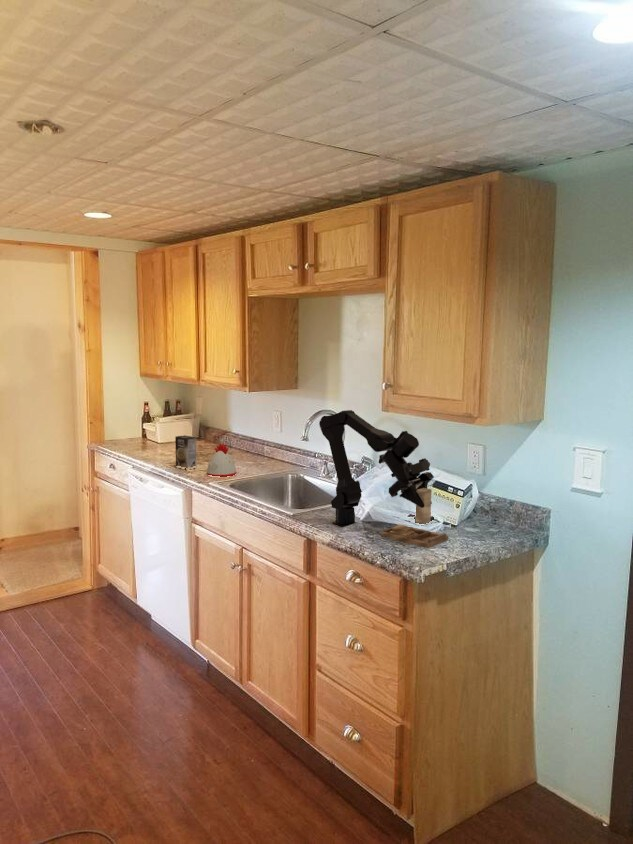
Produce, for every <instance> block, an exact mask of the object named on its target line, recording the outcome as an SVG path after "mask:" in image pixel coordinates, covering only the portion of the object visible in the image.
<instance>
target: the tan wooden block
mask: <svg viewBox="0 0 633 844" xmlns="http://www.w3.org/2000/svg"><path fill="white" fill-rule="evenodd" d="M416 492H417V493H418V495H419V497H420V498H421V500H422V502H423V503H424V505H425V506H424V507H423V508H421V507H419V506H418V505H416V504H415V507H416V518H415V523H419V524H426V523H429V522H430V516H431V511H432V510H431V509H432V504H431V502H432V488H428V487H427V488H421V489H418V490H416ZM426 525H427V524H426Z"/></svg>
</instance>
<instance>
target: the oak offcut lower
mask: <svg viewBox="0 0 633 844" xmlns="http://www.w3.org/2000/svg"><path fill="white" fill-rule="evenodd" d="M390 533H391V534H395V535H399V536H403V537H407V538H409V537H411V536H414V535H415V532H414V531H411V532H409V533H407V534H403V533H398V532H392V531H390Z"/></svg>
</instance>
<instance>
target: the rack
mask: <svg viewBox="0 0 633 844" xmlns="http://www.w3.org/2000/svg"><path fill="white" fill-rule="evenodd" d="M398 525H399V524H398ZM398 525H394V526H391V527H390V528H387V529H384V530H383V531H381V532H380V537H383V538H387V539H389V540H390V539H391V540H394V541H398V542H402V543H407V544H410V545H414V546H417V547H422V548H426V549H430V548H432V547H435V546H436V545H440V544H441V543H444V542H446V541H449V535H447V533H445V532H443V533H437V532H434V531H429V530H426V529H425V530H424V529H421V528H417V527H412V526H411V527H412V531H414V532H415V535H414V536H411V537H409V538H407V537H403V536H399V535H395V534H391V533H390V531H392V528H393V527H395V526H398ZM401 525H402V526H405V525H403V524H401ZM406 526H407V525H406ZM407 527H409V526H407Z"/></svg>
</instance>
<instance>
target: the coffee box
mask: <svg viewBox="0 0 633 844" xmlns="http://www.w3.org/2000/svg"><path fill="white" fill-rule="evenodd" d="M174 442H175V467H176V466H181V467H186V468H188V467H193V466H197V437H196V436H192V435H191V436H190V435H186V434H185V435H178V436H177V435H176V436H175V440H174Z"/></svg>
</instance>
